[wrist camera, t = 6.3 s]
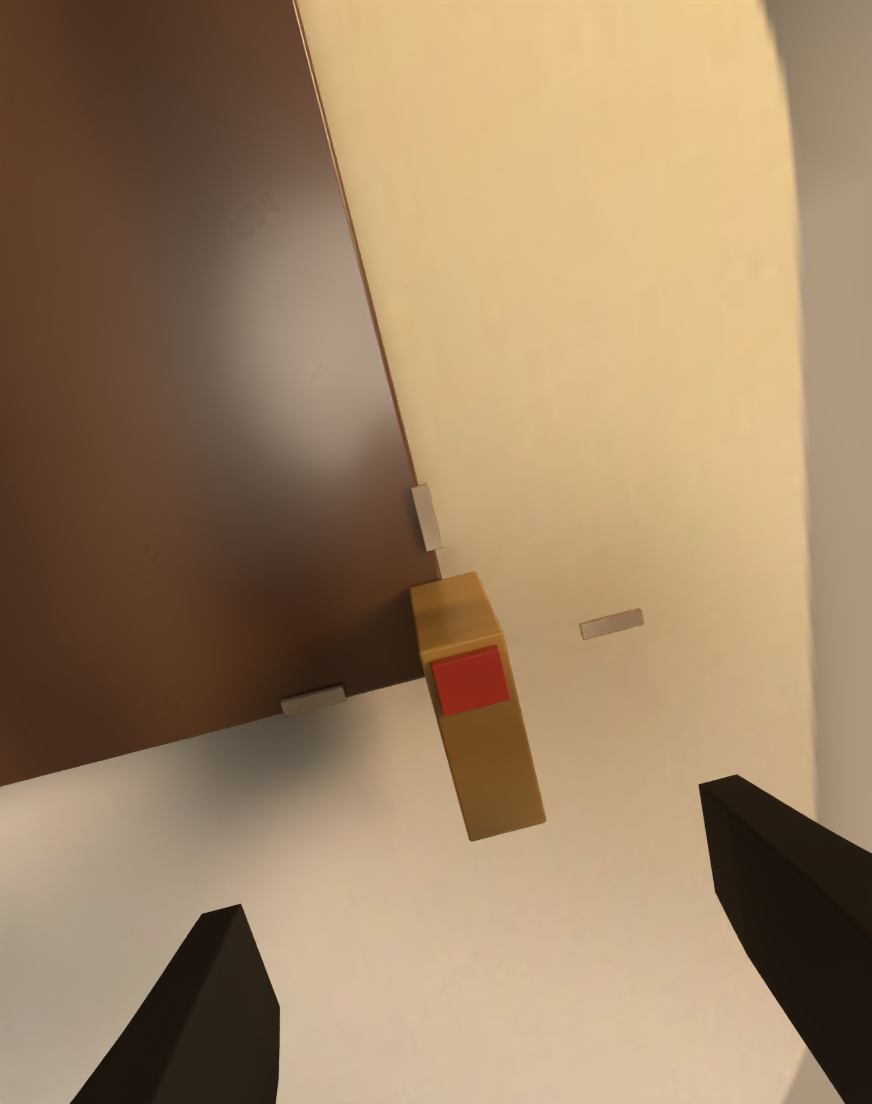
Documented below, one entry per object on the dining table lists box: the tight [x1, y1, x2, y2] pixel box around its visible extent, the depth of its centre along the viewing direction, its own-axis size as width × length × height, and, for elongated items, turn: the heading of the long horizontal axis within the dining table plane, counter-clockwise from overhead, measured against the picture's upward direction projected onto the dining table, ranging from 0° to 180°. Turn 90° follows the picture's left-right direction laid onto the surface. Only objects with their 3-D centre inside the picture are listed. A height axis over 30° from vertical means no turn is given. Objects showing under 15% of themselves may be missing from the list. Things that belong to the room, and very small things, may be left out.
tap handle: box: [409, 572, 546, 841], centre depth 16 cm, size 4×2×4 cm, turn 14°
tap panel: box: [0, 0, 644, 787], centre depth 17 cm, size 22×23×3 cm
